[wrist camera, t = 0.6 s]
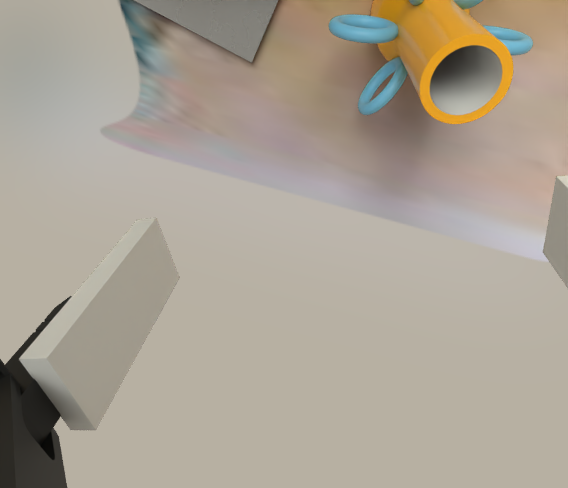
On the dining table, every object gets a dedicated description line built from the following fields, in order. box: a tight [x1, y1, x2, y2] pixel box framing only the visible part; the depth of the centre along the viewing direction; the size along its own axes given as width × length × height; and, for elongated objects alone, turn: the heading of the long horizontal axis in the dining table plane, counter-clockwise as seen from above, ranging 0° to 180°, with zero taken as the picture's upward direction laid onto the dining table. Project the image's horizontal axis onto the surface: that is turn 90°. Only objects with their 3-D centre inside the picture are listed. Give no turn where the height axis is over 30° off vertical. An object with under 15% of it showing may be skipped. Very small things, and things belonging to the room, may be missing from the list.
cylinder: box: [329, 0, 533, 124], centre depth 25 cm, size 12×10×15 cm
